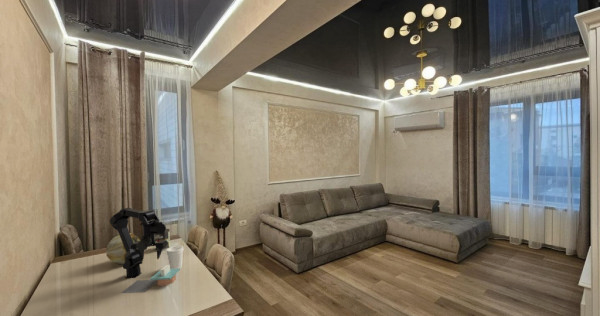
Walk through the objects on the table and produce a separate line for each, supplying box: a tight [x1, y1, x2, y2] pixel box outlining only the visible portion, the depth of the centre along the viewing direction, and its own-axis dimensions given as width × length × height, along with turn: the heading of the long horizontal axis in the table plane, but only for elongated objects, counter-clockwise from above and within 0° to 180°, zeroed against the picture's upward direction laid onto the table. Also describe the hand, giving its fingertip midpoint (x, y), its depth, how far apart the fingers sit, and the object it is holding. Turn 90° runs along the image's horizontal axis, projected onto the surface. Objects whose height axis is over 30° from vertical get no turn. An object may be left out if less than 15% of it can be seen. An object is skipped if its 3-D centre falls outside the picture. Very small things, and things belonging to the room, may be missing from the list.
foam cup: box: [166, 245, 185, 269], centre depth 159 cm, size 10×9×13 cm
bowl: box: [156, 273, 177, 287], centre depth 142 cm, size 9×9×4 cm
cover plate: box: [149, 264, 181, 280], centre depth 141 cm, size 11×11×4 cm
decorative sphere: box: [105, 232, 141, 265], centre depth 172 cm, size 20×20×20 cm
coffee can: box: [155, 228, 171, 252], centre depth 196 cm, size 10×10×14 cm
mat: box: [121, 279, 157, 294], centre depth 138 cm, size 13×13×1 cm
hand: (150, 259), depth 146 cm, fingers open, 9 cm apart
